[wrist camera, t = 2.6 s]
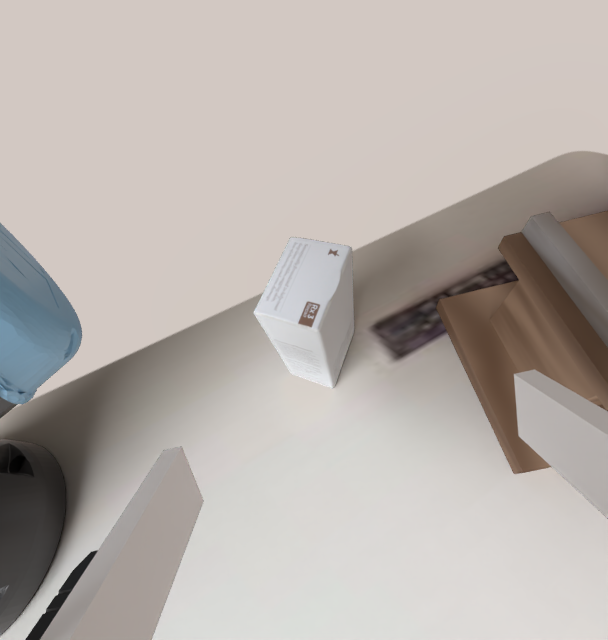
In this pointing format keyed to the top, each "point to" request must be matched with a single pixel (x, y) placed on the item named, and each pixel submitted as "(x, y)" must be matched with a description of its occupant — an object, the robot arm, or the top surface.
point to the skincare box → (310, 308)
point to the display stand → (537, 323)
